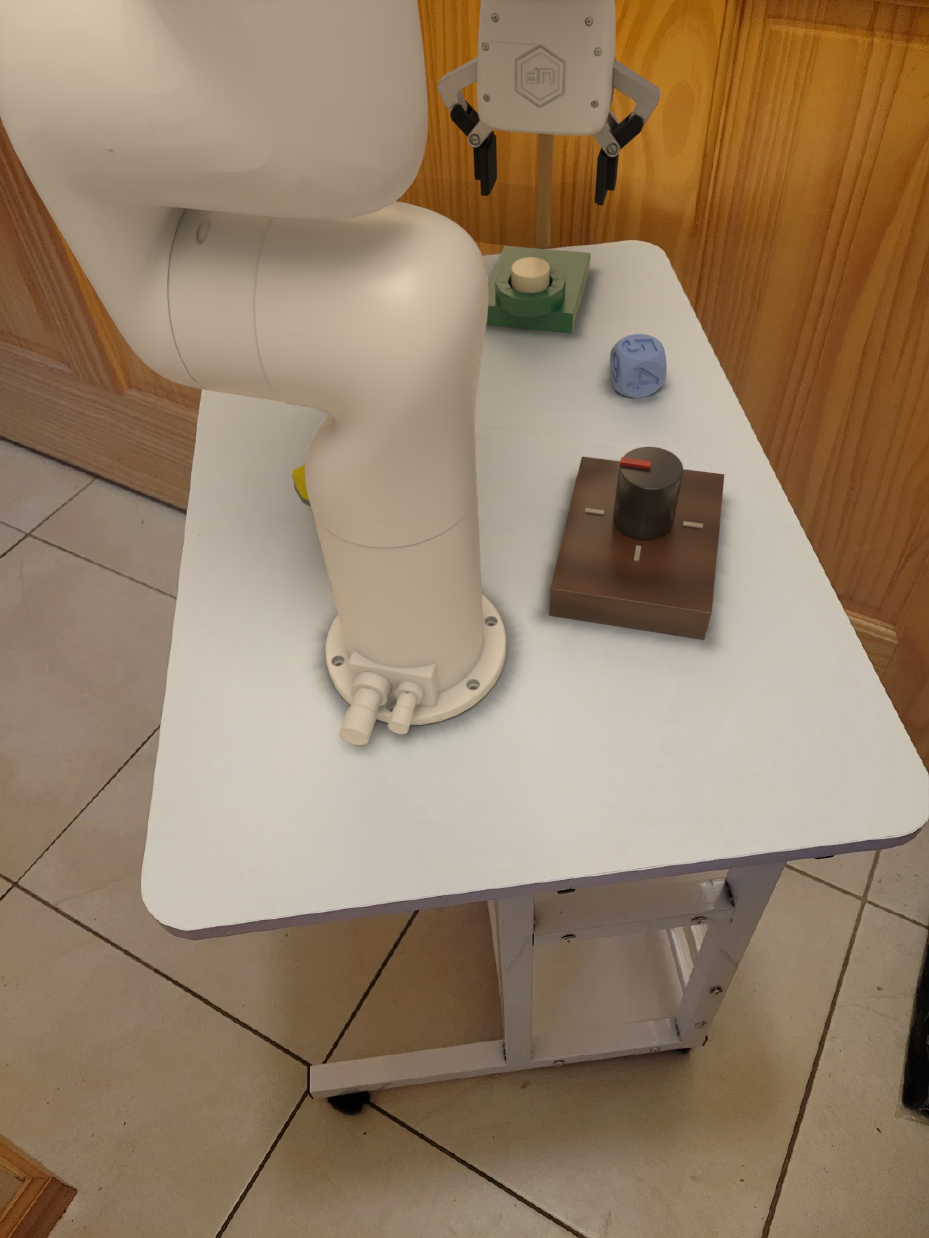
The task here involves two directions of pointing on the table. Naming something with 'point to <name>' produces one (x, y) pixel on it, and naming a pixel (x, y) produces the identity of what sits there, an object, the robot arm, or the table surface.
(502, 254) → the lamp base
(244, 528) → the table surface
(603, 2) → the robot arm
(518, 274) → the lamp switch
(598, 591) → the dimmer panel
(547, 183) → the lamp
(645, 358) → the decorative dice
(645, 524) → the dimmer knob
